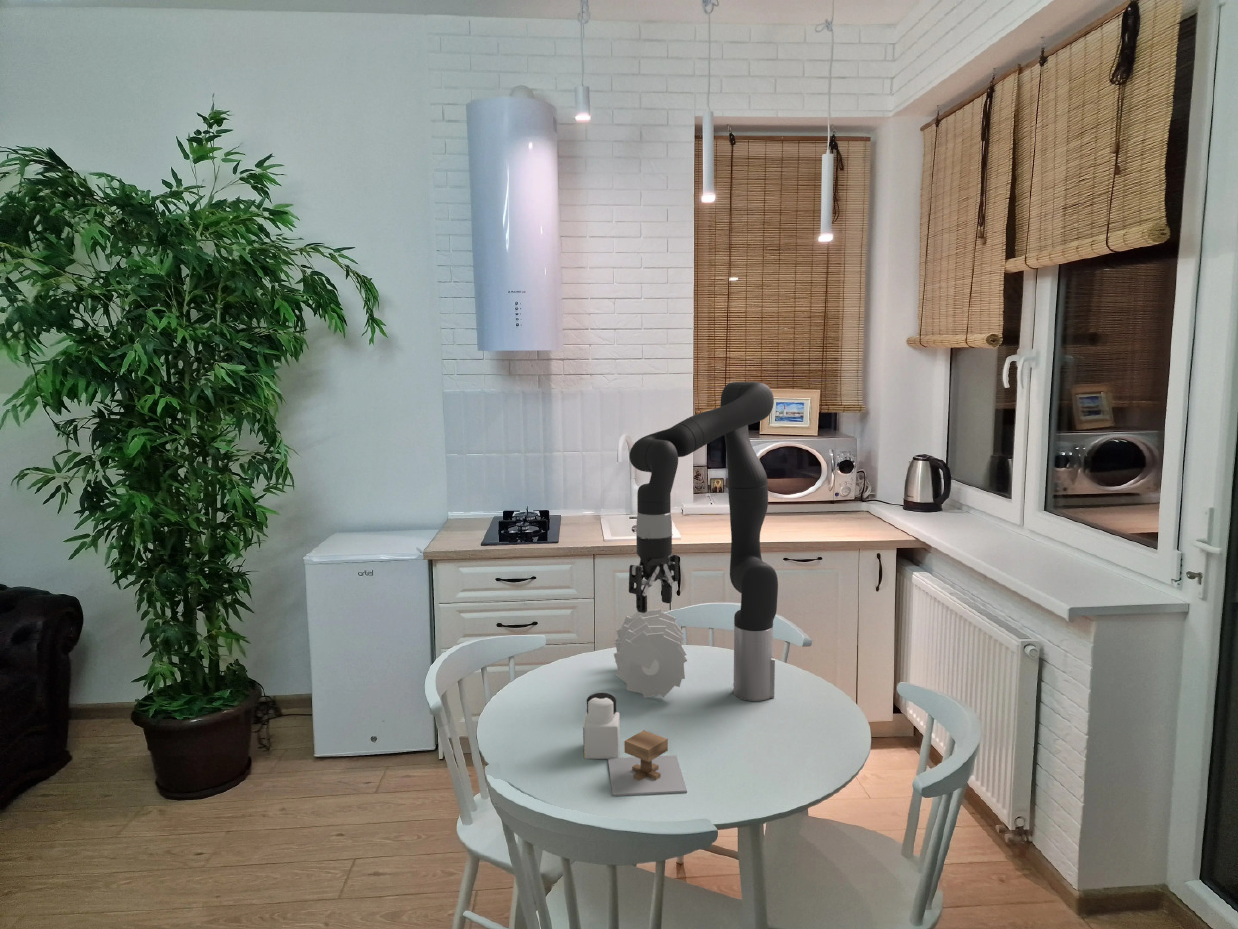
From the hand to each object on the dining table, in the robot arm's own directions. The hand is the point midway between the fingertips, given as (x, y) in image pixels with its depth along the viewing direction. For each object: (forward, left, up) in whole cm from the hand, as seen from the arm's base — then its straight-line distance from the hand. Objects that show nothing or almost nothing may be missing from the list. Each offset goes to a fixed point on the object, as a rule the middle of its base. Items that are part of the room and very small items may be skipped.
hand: (654, 607), depth 179 cm
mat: (+4, +19, -28) cm, 34 cm away
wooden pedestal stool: (+4, +19, -28) cm, 34 cm away
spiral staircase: (-2, -27, -28) cm, 39 cm away
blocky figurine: (+12, +8, -28) cm, 32 cm away
